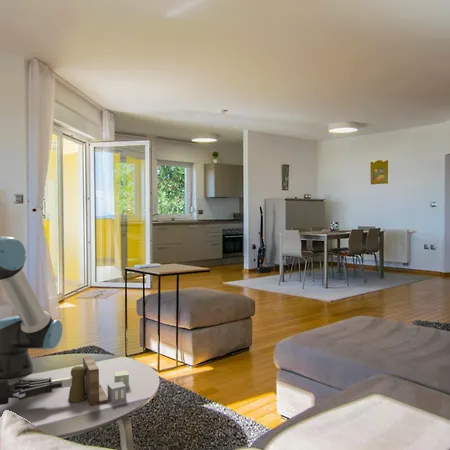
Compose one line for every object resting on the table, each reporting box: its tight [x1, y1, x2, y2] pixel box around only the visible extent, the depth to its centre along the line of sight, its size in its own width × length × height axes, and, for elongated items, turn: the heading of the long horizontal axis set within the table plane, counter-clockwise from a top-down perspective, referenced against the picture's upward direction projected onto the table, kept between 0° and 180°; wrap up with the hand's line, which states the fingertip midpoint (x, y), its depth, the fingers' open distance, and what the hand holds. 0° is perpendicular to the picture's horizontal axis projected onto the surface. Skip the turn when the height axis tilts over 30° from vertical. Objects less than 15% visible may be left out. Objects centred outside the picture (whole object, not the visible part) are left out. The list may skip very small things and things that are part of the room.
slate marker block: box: [107, 382, 127, 404], centre depth 155 cm, size 5×5×5 cm
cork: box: [68, 365, 87, 403], centre depth 156 cm, size 6×6×11 cm
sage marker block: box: [114, 370, 130, 389], centre depth 167 cm, size 5×5×5 cm
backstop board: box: [82, 355, 109, 407], centre depth 158 cm, size 16×6×12 cm, turn 25°
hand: (71, 381), depth 155 cm, fingers closed
